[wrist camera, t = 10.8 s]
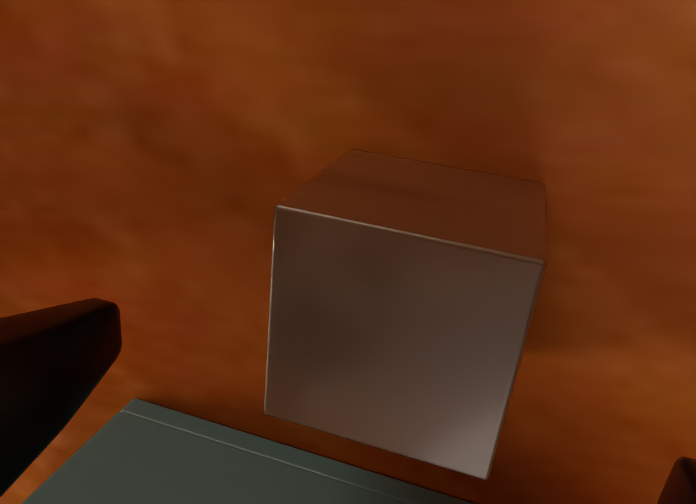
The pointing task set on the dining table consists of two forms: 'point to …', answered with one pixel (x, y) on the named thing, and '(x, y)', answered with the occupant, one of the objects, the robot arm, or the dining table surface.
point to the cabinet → (209, 468)
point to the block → (404, 305)
